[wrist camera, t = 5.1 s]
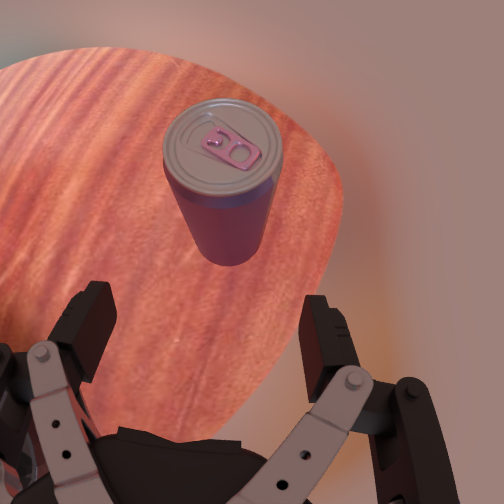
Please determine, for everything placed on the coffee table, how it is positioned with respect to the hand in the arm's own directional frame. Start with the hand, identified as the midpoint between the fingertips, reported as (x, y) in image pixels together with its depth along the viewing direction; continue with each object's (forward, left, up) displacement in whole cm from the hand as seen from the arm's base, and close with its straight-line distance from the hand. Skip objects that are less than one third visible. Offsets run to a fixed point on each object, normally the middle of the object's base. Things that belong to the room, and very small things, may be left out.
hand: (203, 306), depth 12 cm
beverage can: (+7, -3, -15) cm, 16 cm away
